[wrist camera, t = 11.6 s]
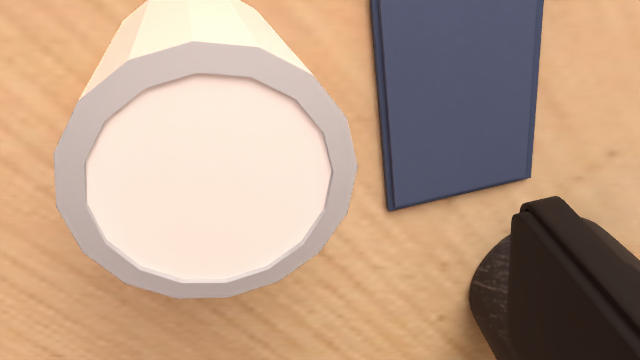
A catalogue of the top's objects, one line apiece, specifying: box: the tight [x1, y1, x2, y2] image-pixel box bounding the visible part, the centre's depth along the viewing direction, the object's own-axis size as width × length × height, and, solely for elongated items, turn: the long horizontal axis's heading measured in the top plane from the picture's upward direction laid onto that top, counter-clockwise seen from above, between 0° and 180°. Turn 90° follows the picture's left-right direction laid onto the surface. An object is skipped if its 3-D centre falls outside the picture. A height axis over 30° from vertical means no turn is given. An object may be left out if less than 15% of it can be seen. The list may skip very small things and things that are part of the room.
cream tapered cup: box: [54, 0, 358, 299], centre depth 17 cm, size 7×7×7 cm
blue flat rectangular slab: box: [370, 0, 544, 211], centre depth 20 cm, size 6×14×1 cm, turn 7°
